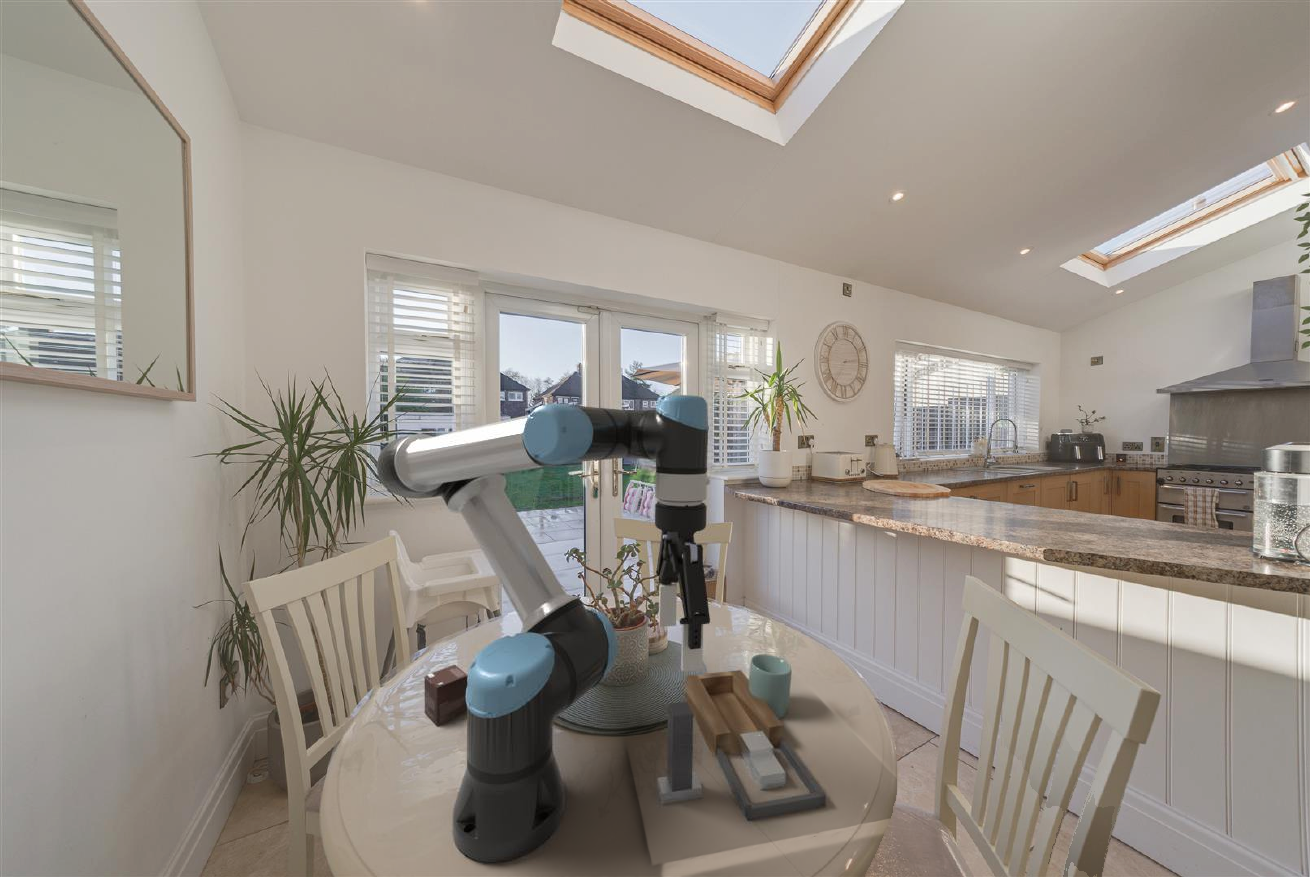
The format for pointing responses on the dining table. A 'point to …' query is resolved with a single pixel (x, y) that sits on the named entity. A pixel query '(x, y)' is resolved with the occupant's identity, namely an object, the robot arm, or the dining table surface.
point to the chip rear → (754, 745)
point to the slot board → (729, 710)
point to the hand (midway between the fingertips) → (678, 645)
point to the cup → (771, 682)
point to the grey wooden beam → (679, 758)
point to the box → (445, 694)
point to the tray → (778, 805)
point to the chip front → (767, 771)
